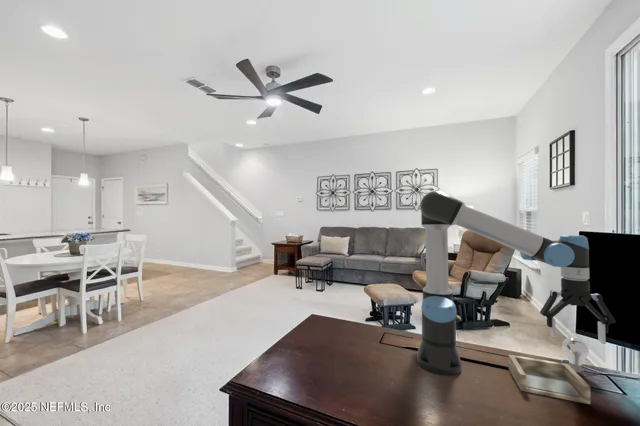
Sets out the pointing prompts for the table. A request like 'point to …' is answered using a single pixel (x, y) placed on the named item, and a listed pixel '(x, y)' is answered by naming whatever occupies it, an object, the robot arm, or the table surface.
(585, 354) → the light bulb
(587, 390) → the shallow wooden tray
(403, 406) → the table surface
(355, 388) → the table surface
